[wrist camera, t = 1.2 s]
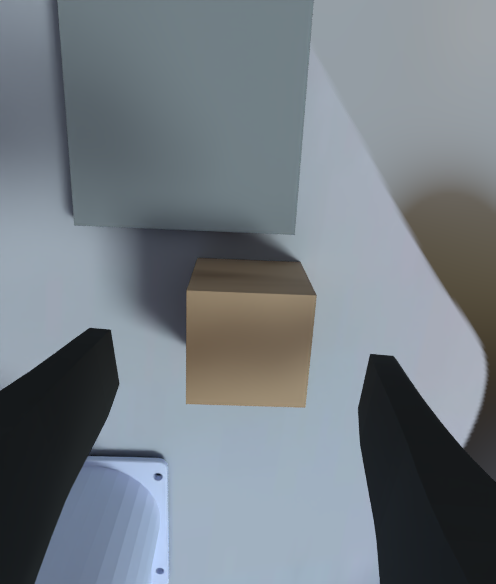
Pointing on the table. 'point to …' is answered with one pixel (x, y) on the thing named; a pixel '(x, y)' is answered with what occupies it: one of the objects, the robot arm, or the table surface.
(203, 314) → the walnut cube
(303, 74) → the slate coaster
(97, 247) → the table surface
